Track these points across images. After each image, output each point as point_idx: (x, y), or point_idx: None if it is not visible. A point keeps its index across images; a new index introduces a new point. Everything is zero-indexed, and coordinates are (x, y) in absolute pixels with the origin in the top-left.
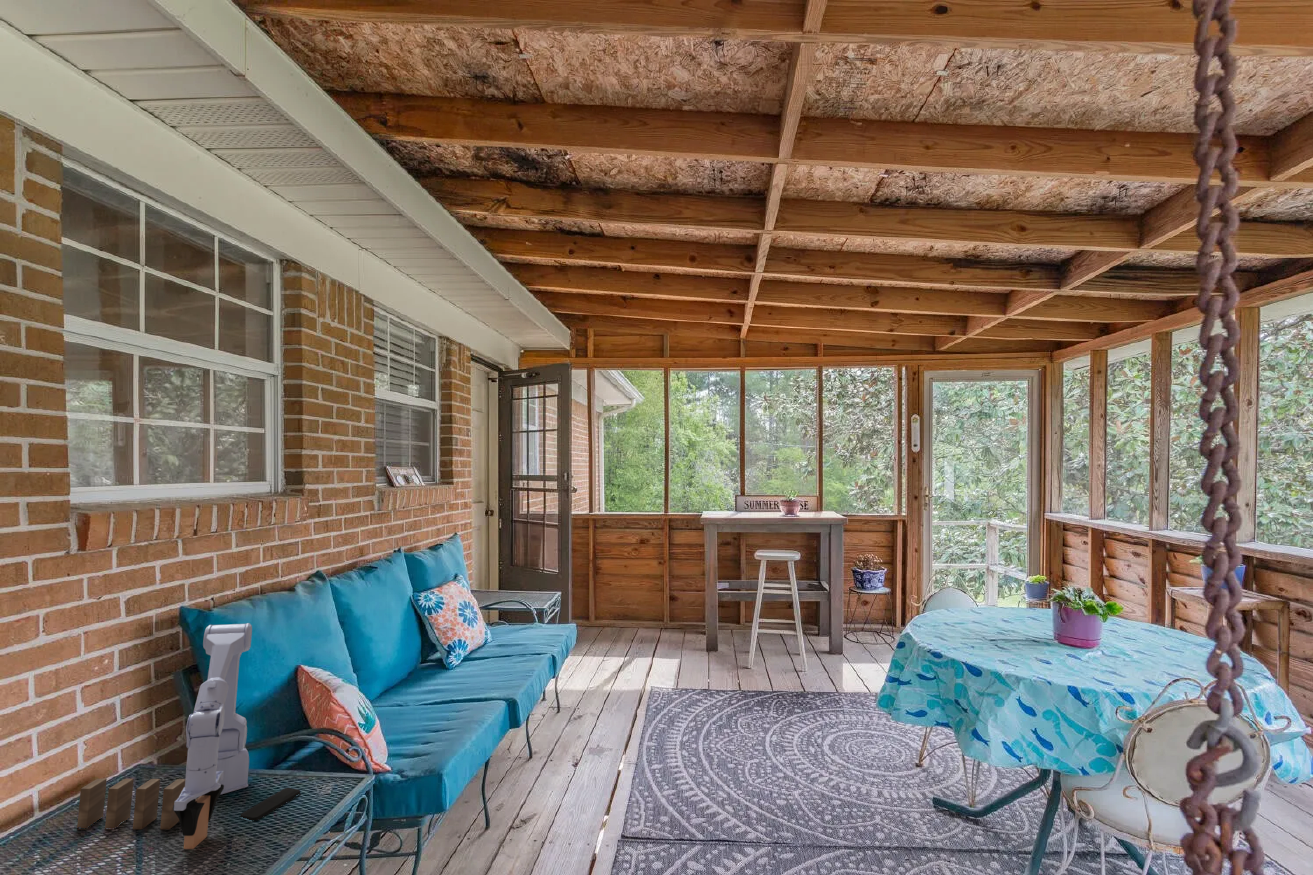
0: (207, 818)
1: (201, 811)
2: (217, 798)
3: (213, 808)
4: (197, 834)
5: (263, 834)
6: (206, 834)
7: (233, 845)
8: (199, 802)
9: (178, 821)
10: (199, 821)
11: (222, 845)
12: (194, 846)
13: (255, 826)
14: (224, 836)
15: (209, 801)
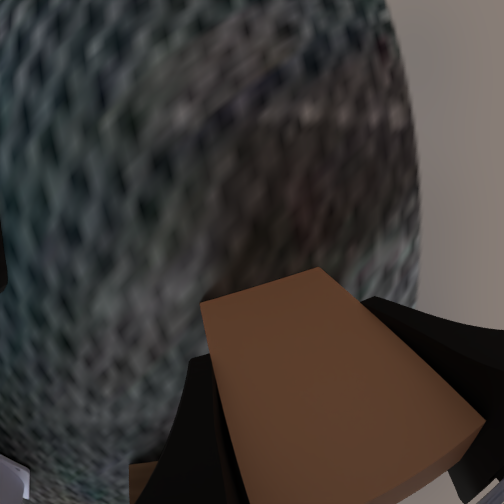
0: (229, 369)
1: (367, 407)
2: (163, 482)
3: (187, 413)
4: (318, 302)
5: (106, 6)
6: (208, 307)
7: (251, 74)
8: (418, 476)
9: (153, 462)
10: (347, 351)
11: (264, 137)
12: (312, 271)
13: (31, 123)
14: (172, 207)
15: (252, 485)
